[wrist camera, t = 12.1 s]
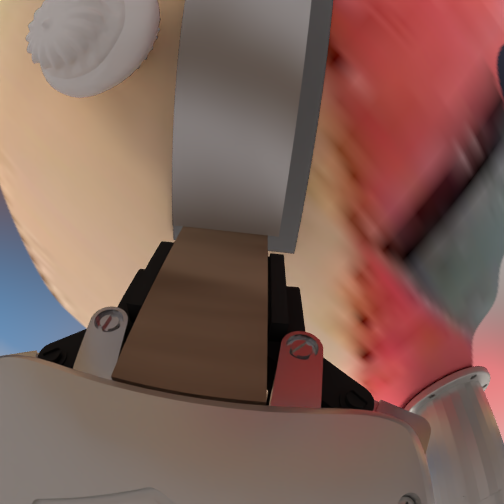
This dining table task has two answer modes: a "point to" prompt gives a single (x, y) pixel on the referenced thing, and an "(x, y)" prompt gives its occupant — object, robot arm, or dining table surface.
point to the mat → (303, 127)
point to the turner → (222, 201)
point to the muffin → (91, 42)
